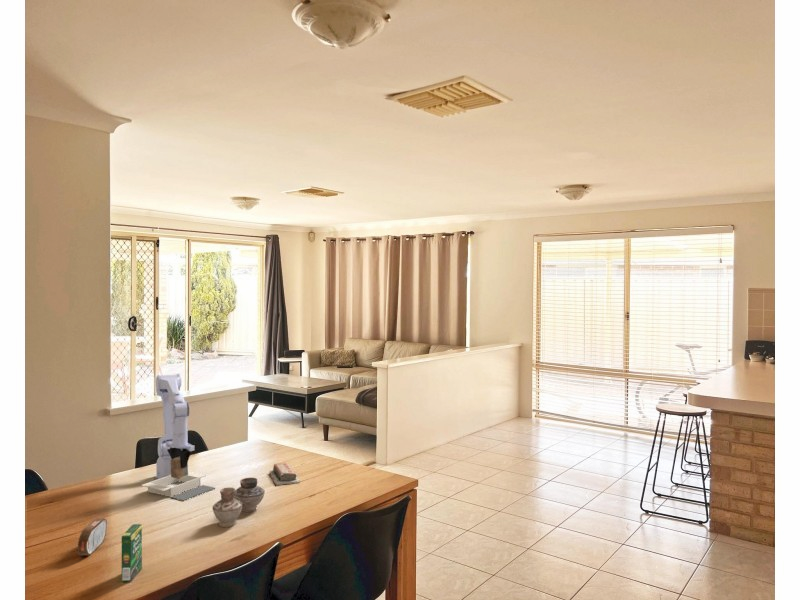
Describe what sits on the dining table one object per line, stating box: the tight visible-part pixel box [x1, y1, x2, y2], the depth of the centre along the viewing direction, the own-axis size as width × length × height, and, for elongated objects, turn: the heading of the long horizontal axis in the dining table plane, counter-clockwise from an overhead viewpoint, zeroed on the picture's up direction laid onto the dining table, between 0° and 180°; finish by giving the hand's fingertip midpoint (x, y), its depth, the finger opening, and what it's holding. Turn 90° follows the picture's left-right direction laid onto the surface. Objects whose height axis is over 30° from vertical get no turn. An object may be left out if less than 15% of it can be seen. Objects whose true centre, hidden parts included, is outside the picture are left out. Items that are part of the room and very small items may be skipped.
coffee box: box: [121, 523, 143, 583], centre depth 161 cm, size 8×3×13 cm, turn 3°
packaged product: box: [269, 462, 301, 486], centre depth 247 cm, size 18×5×10 cm
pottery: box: [212, 477, 266, 528], centre depth 205 cm, size 11×25×12 cm, turn 166°
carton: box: [140, 471, 207, 498], centre depth 232 cm, size 13×21×4 cm, turn 152°
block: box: [170, 457, 189, 479], centre depth 230 cm, size 4×5×7 cm
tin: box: [77, 517, 108, 557], centre depth 177 cm, size 15×3×8 cm, turn 5°
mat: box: [170, 484, 216, 502], centre depth 227 cm, size 7×16×1 cm, turn 152°
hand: (179, 466), depth 231 cm, fingers closed on block, 4 cm apart
